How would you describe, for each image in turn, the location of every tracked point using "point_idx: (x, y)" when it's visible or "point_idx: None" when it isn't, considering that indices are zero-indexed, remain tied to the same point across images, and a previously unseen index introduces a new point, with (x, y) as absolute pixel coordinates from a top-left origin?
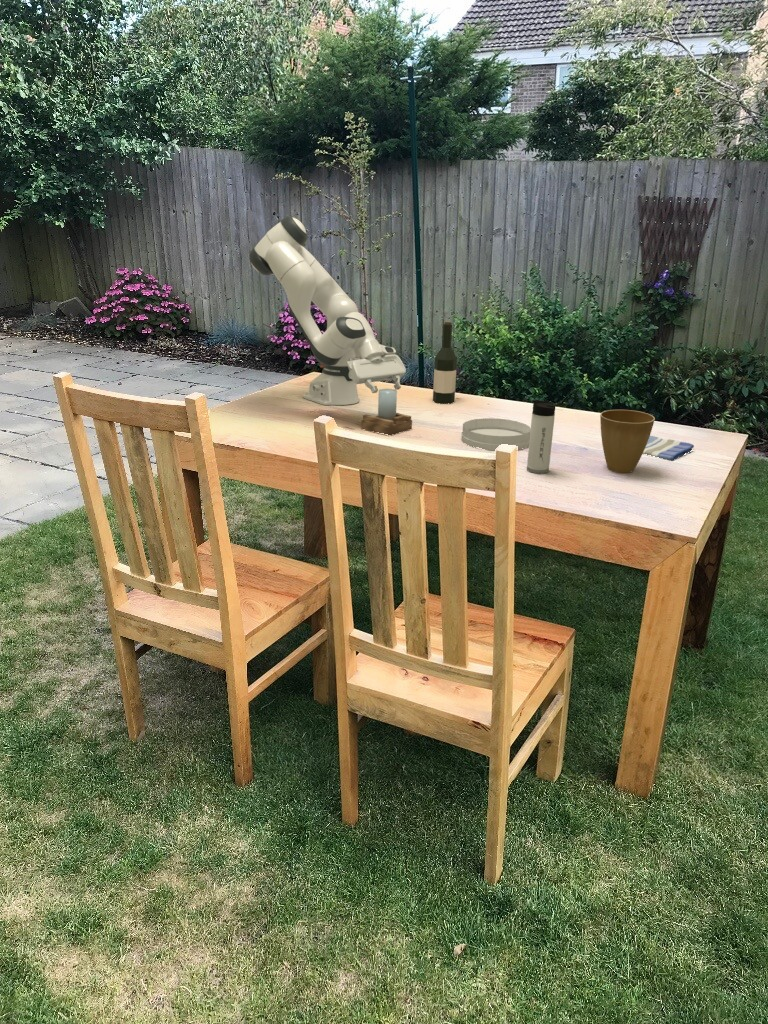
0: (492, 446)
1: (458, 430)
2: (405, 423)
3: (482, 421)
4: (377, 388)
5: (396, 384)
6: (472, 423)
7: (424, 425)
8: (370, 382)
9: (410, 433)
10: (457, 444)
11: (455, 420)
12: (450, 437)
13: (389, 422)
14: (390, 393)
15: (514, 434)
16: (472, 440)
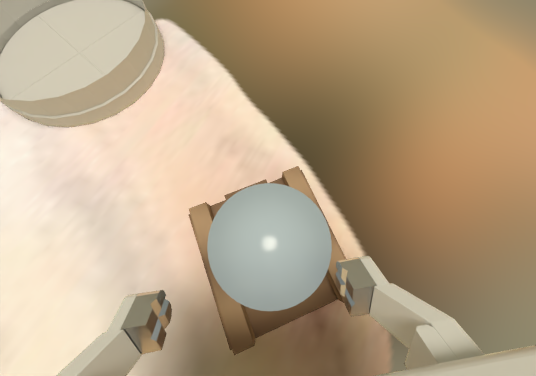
0: (141, 6)
1: (89, 159)
2: (224, 201)
3: (19, 106)
4: (343, 268)
5: (151, 310)
6: (57, 106)
7: (136, 244)
8: (423, 314)
9: (227, 181)
10: (179, 67)
11: (4, 261)
12: (155, 114)
13: (299, 170)
14: (279, 184)
15: (19, 57)
16: (155, 32)
